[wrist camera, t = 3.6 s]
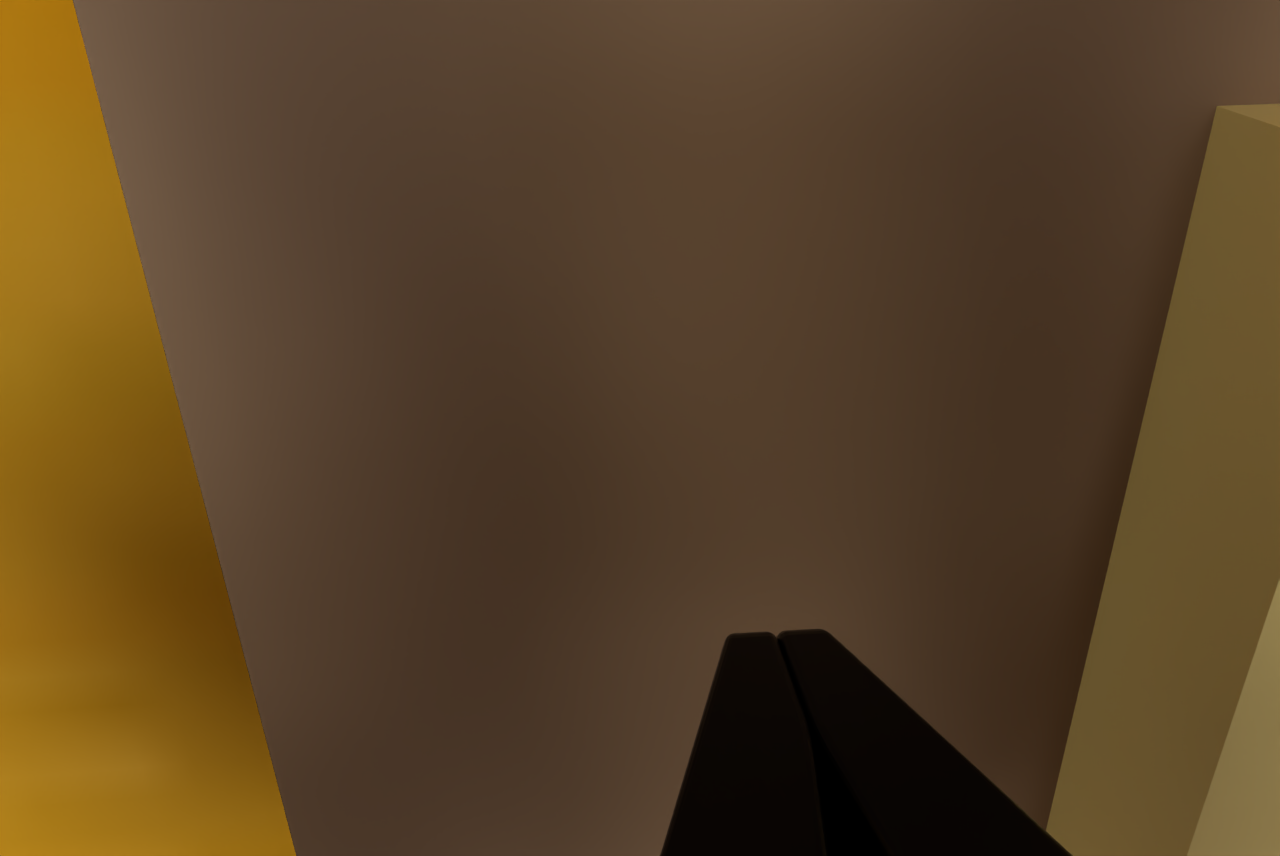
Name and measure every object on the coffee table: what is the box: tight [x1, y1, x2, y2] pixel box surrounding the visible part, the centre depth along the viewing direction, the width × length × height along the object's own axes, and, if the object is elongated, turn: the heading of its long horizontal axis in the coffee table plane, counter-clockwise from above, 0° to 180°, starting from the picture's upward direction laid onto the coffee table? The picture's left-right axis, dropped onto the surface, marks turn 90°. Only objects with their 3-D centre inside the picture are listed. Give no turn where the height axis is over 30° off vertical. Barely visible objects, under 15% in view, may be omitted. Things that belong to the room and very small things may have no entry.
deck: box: [73, 0, 1280, 856], centre depth 11 cm, size 16×14×4 cm
